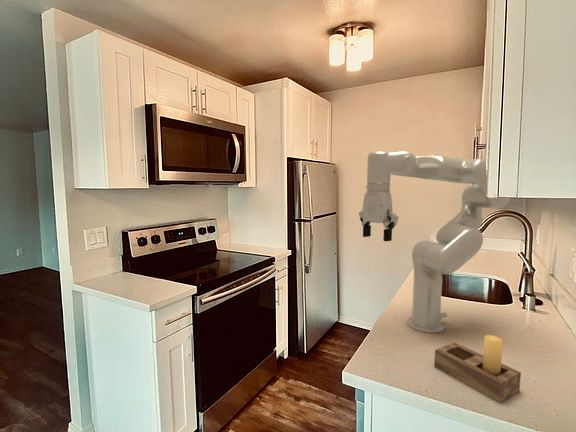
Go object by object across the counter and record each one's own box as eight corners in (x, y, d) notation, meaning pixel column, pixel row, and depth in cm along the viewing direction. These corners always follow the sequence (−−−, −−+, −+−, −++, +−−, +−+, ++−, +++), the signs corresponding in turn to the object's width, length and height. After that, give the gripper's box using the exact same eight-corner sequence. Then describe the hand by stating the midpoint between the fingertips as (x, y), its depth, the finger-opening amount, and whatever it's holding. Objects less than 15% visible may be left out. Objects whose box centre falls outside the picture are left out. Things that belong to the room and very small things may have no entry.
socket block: (453, 358, 99) (454, 342, 99) (519, 390, 84) (520, 372, 83) (434, 366, 95) (435, 349, 94) (500, 402, 79) (501, 383, 79)
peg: (486, 376, 88) (489, 333, 87) (502, 384, 85) (506, 340, 83) (478, 381, 86) (481, 337, 85) (494, 389, 83) (497, 344, 81)
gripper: (352, 188, 117) (351, 235, 119) (390, 189, 102) (388, 244, 104) (368, 188, 121) (367, 234, 123) (406, 189, 106) (404, 241, 108)
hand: (376, 238), depth 113 cm, fingers open, 9 cm apart
